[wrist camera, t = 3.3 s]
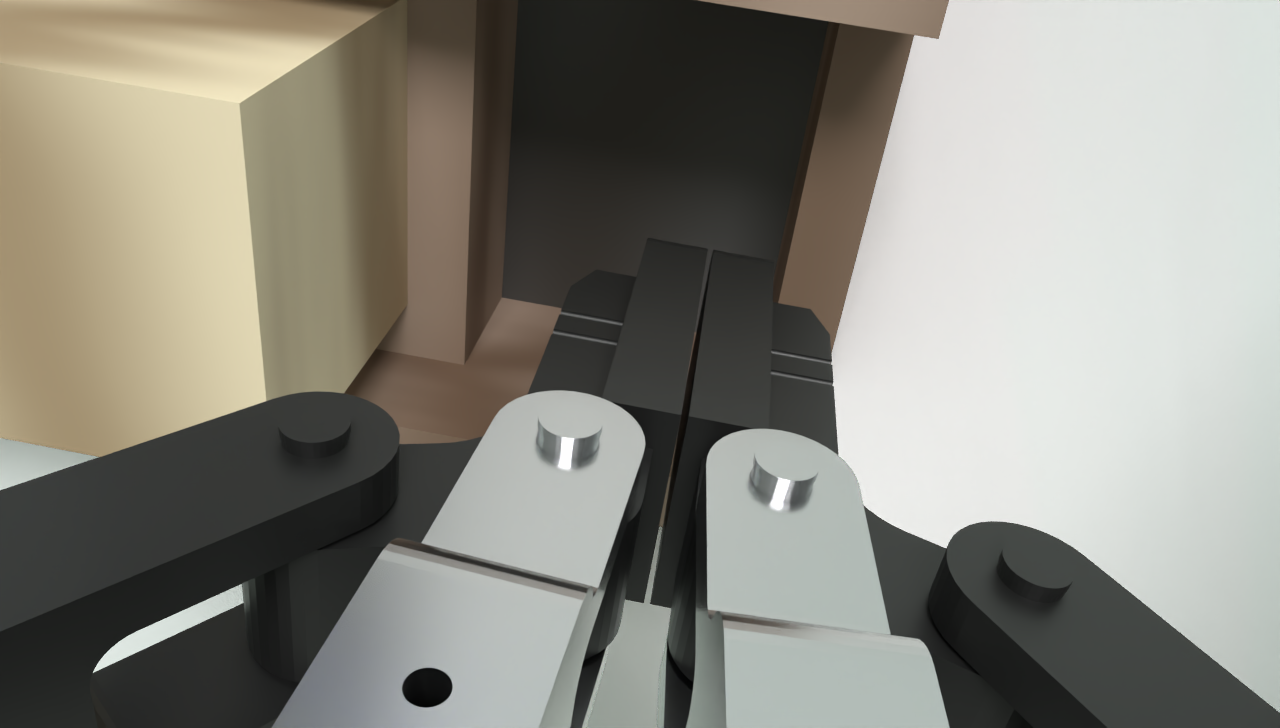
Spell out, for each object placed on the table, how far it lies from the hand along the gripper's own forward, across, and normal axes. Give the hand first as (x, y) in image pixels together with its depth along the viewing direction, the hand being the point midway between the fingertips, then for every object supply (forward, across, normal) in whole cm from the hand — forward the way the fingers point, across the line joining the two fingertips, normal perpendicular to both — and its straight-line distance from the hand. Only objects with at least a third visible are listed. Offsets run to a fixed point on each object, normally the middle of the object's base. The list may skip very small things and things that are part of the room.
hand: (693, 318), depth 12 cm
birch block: (+4, +7, 0) cm, 8 cm away
